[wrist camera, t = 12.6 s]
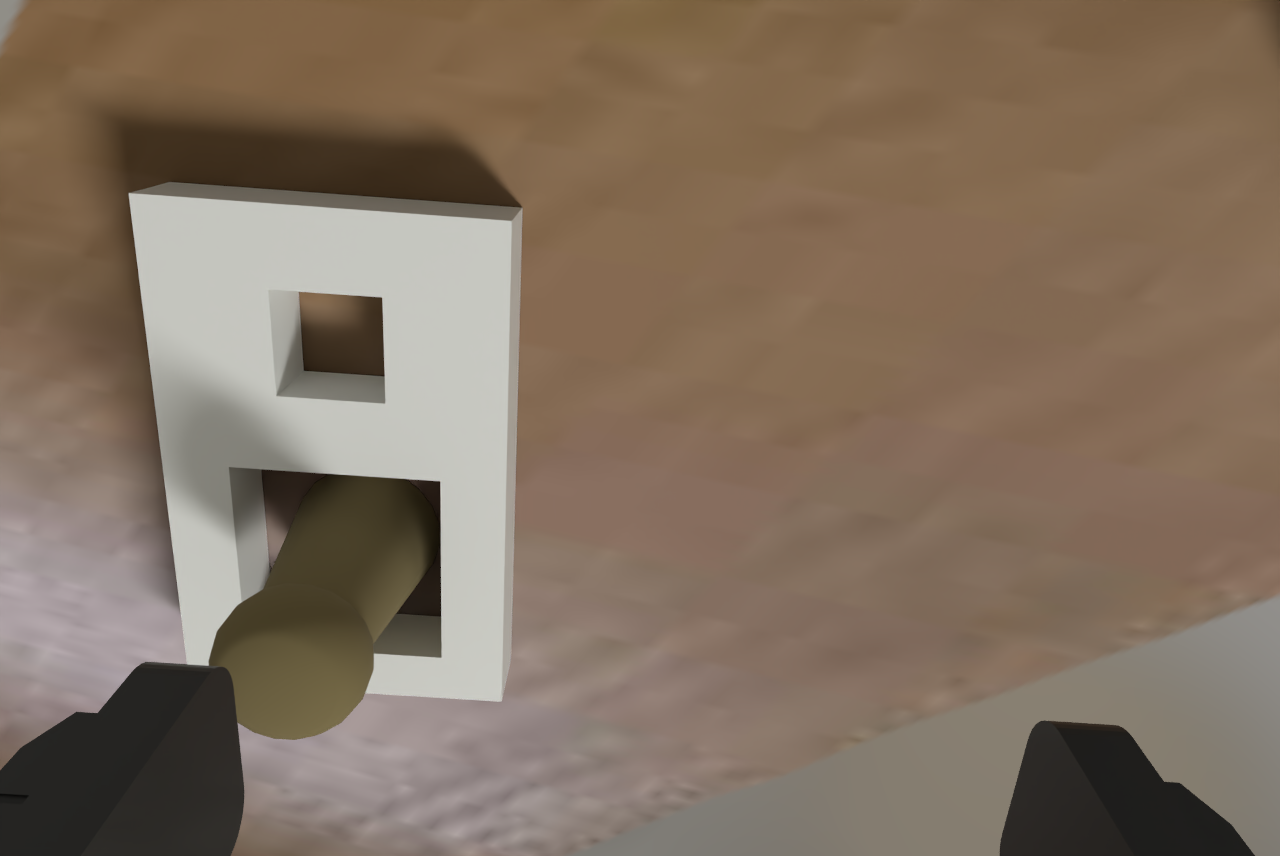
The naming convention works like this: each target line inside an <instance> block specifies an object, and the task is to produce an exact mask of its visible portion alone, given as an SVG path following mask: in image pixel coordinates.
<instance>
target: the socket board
mask: <svg viewBox="0 0 1280 856" xmlns="http://www.w3.org/2000/svg"><path fill="white" fill-rule="evenodd" d="M129 201H130V209H131V217H132V225H133V233H134V241H135V249H136V257H137V265H138V273H139V281H140V289H141V297H142V306H143V314H144V322H145V330H146V338H147V346H148V354H149V362H150V370H151V378H152V386H153V394H154V402H155V410H156V418H157V426H158V434H159V442H160V450H161V458H162V466H163V474H164V482H165V490H166V498H167V506H168V514H169V522H170V531H171V539H172V547H173V555H174V563H175V571H176V579H177V587H178V595H179V603H180V611H181V619H182V627H183V635H184V643H185V651H186V659H187V664H189V665H205V666H209V662H208V661H209V657H210V654H211V650H212V646H213V643H214V639H215V636H216V633H217V630H218V629H219V628H220V627H221V625H222V624H223V623H224V621H225V620H226V619H227V618H228V616H229V615H230V614H231V613H232V611H233V610H234V609H235V607H236V606H237V605H238V604H240V603H241V602H243V601H245V600H246V599H248V598H249V597H251V596H253V595H254V594H256V593H258V592H259V591H261V590H263V589H264V586H265V584H266V582H267V579H268V577H269V575H270V567H269V555H268V543H267V531H266V519H265V507H264V495H263V483H262V470H261V469H265V470H279V471H294V472H309V473H324V474H339V475H354V476H369V477H384V478H399V479H413V480H428V481H440V496H441V617H440V616H424V615H409V614H395V616H394V617H393V618H392V620H391V621H390V622H389V624H388V625H387V627H386V628H385V629H384V631H383V632H382V633H381V635H380V636H379V637H378V639H377V640H376V641H375V643H374V644H373V650H374V670H373V673H372V676H371V678H370V681H369V684H368V687H367V689H366V692H365V693H371V694H387V695H403V696H419V697H435V698H451V699H467V700H483V701H499V702H502V698H503V693H504V689H505V684H506V680H507V675H508V671H509V666H510V662H511V644H512V605H513V565H514V525H515V486H516V446H517V406H518V366H519V327H520V287H521V247H522V208H520V207H506V206H493V205H479V204H465V203H452V202H438V201H424V200H410V199H397V198H383V197H369V196H356V195H342V194H328V193H315V192H301V191H287V190H274V189H260V188H246V187H232V186H219V185H205V184H191V183H178V182H168V183H164V184H160V185H157V186H153V187H149V188H146V189H142V190H138V191H134V192H131V193H129ZM299 292H313V293H327V294H341V295H355V296H369V297H382V303H383V337H384V371H385V376H372V375H357V374H343V373H328V372H314V371H304V368H303V352H302V336H301V320H300V304H299Z"/></svg>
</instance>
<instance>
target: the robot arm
mask: <svg viewBox="0 0 1280 856" xmlns="http://www.w3.org/2000/svg"><path fill="white" fill-rule="evenodd" d="M243 806H244V782H243V773H242V763H241V753H240V744H239V734H238V725H237V715H236V705H235V696H234V687H233V681H232V678H231V675H230V673H229V671H228V670H227V669H226V668H225V667H221V666H205V665H189V664H173V663H157V662H145V663H142V664H140V665H139V666H138V667H136V668H135V669H134V670H133V671H132V672H131V674H130V675H129V676H128V677H127V678H126V680H125V681H124V682H123V683H122V684H121V686H120V687H119V688H118V689H117V690H116V692H115V693H114V694H113V695H112V697H111V698H110V699H109V700H108V701H107V703H106V704H105V705H104V706H103V707H102V709H101V710H100V711H99V712H98V713H85V712H76V713H74V714H73V715H71V716H69V717H68V718H66V719H65V720H63V721H62V722H60V723H59V724H57V725H55V726H54V727H52V728H51V729H49V730H48V731H46V732H45V733H43V734H42V735H40V736H38V737H37V738H35V739H34V740H32V741H31V742H29V743H28V744H26V745H24V746H23V747H21V748H20V749H19V750H18V752H17V753H16V754H15V755H14V756H13V757H12V758H11V759H10V760H9V762H8V763H7V764H6V765H5V766H4V767H3V768H2V769H1V770H0V856H231V853H232V851H233V848H234V846H235V843H236V840H237V837H238V833H239V829H240V825H241V820H242V814H243ZM1000 856H1255V855H1254V854H1253V853H1252V851H1251V850H1250V849H1249V847H1248V846H1247V845H1246V843H1245V842H1244V841H1243V839H1242V838H1241V837H1240V835H1239V834H1238V833H1237V832H1236V830H1235V829H1234V828H1233V826H1232V825H1231V824H1230V823H1229V822H1227V821H1226V820H1225V819H1224V818H1222V817H1221V816H1220V815H1219V814H1217V813H1216V812H1215V811H1214V810H1212V809H1211V808H1210V807H1209V806H1208V805H1206V804H1205V803H1204V802H1203V801H1201V800H1200V799H1199V798H1198V797H1196V796H1195V795H1194V794H1193V793H1191V792H1190V791H1189V790H1188V789H1186V788H1185V787H1184V786H1183V785H1182V784H1180V783H1173V782H1164V781H1163V780H1162V778H1161V777H1160V776H1159V774H1158V773H1157V771H1156V770H1155V768H1154V767H1153V766H1152V764H1151V763H1150V761H1149V760H1148V759H1147V758H1146V756H1145V755H1144V753H1143V752H1142V750H1141V749H1140V747H1139V746H1138V744H1137V743H1136V742H1135V740H1134V739H1133V737H1132V736H1131V735H1130V734H1129V733H1128V732H1127V731H1126V730H1125V729H1124V728H1122V727H1120V726H1116V725H1104V724H1087V723H1072V722H1056V721H1041V722H1039V723H1037V724H1036V725H1035V727H1034V728H1033V729H1032V731H1031V733H1030V736H1029V739H1028V742H1027V745H1026V749H1025V753H1024V757H1023V760H1022V764H1021V768H1020V771H1019V775H1018V778H1017V782H1016V786H1015V790H1014V793H1013V797H1012V800H1011V804H1010V808H1009V811H1008V815H1007V819H1006V822H1005V826H1004V830H1003V833H1002V838H1001V844H1000Z"/></svg>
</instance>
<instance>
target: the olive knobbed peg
mask: <svg viewBox="0 0 1280 856" xmlns="http://www.w3.org/2000/svg"><path fill="white" fill-rule="evenodd" d="M439 546H440V540H439V524H438V521H437V518H436V515H435V513H434V510H433V507H432V505H431V504H430V503H429V502H428V500H427V499H426V498H425V497H424V495H423V494H422V493H421V491H420V490H419V489H418V488H417V487H415V486H414V485H412V484H411V483H410V482H408V481H407V480H405V479H399V478H384V477H369V476H354V475H339V474H328V475H327V476H325V477H323V478H322V479H320V480H318V481H317V482H315V484H314V485H313V486H312V487H311V489H310V490H309V491H308V493H307V494H306V495H305V496H304V498H303V500H302V502H301V504H300V507H299V509H298V511H297V513H296V516H295V518H294V520H293V523H292V525H291V527H290V529H289V532H288V534H287V536H286V538H285V541H284V543H283V545H282V548H281V550H280V552H279V554H278V557H277V559H276V561H275V564H274V566H273V568H272V570H271V573H270V575H269V577H268V579H267V582H266V584H265V586H264V589H263V590H261V591H259V592H258V593H256V594H254V595H253V596H251V597H249V598H248V599H246V600H245V601H243V602H241V603H240V604H238V605H237V606H236V607H235V609H234V610H233V611H232V613H231V614H230V615H229V616H228V618H227V619H226V620H225V621H224V623H223V624H222V625H221V627H220V628H219V629H218V630H217V633H216V636H215V639H214V643H213V646H212V650H211V654H210V657H209V661H208V662H209V666H221V667H225V668H226V669H227V670H228V671H229V673H230V675H231V678H232V681H233V687H234V696H235V705H236V715H237V722H238V723H239V724H241V725H243V726H244V727H246V728H248V729H249V730H251V731H252V732H255V733H258V734H261V735H264V736H267V737H271V738H274V739H290V740H296V739H301V738H306V737H311V736H315V735H318V734H321V733H323V732H325V731H327V730H329V729H331V728H332V727H334V726H336V725H338V724H340V723H341V722H342V721H343V720H344V719H345V718H346V717H347V716H348V715H349V714H350V713H351V712H352V711H353V709H354V708H355V707H356V706H357V705H358V704H359V703H360V701H361V700H362V699H363V697H364V694H365V692H366V689H367V687H368V684H369V681H370V678H371V676H372V673H373V670H374V650H373V644H374V643H375V641H376V640H377V639H378V637H379V636H380V635H381V633H382V632H383V631H384V629H385V628H386V627H387V625H388V624H389V622H390V621H391V620H392V618H393V617H394V616H395V614H396V613H397V612H398V610H399V609H400V608H401V606H402V605H403V603H404V602H405V601H406V599H407V598H408V597H409V595H410V594H411V593H412V591H413V590H414V589H415V587H416V586H417V584H418V583H419V582H420V580H421V579H422V578H423V576H424V575H425V574H426V572H427V571H428V570H429V568H430V567H431V566H432V564H433V562H434V559H435V557H436V554H437V551H438V548H439Z"/></svg>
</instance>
